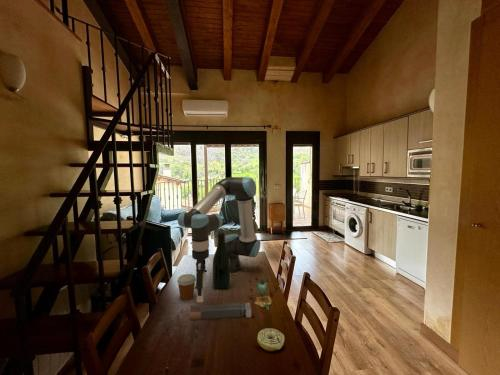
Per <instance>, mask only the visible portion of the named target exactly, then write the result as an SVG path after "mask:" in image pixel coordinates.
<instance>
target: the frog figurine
mask: <svg viewBox="0 0 500 375" xmlns="http://www.w3.org/2000/svg"><path fill="white" fill-rule="evenodd" d="M260 280H261V281H259V280H257V281H256V282H255V284H256V287H255V288H254V290H255V291H257V292H259V294H258V296H255V301H254V304H255V305H257V306H259V307H262V308H263V309H264V308H266V310H270V306H269V305H271V304H272V299H271V297H270V294H269V290H268V287H267V285H268V283H269V281H268V280H265V281H264V277H263V276H261V278H260ZM266 292H267V295H264V293H266ZM261 294H262V296H261Z"/></svg>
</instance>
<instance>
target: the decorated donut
mask: <svg viewBox="0 0 500 375" xmlns="http://www.w3.org/2000/svg"><path fill="white" fill-rule="evenodd" d="M256 341H257V343H258V346H259V347H260V348H262V349H263V350H265V351H267V352H276V351H279V350H280V349H282V348H283V346H284V345H285V335H284V334H283V333H282V331H279V330H278V329H276V328H273V327H269V328H268V327H266V328H263V329H261V330H260V331H259V332H258V333H257V340H256Z"/></svg>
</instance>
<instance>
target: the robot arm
mask: <svg viewBox="0 0 500 375" xmlns="http://www.w3.org/2000/svg"><path fill="white" fill-rule="evenodd" d="M256 184H257V183H256V182H255V180H254V179H253V178H251V177H247V176H240V177H238V176H237V177H235V176H229V177H225V178H223V179H221V180H219V181H218V182H216V183H215V184H214V185H213V186H212V187H211V190H210V191H209V192H208V193H207V194H206V195H205V196H203V197H202V199H201V200H199V201H198V202H197V203H196V204H195V205H194V206H193V207H192V208H191V209H190V210H189V211H187V212H186V211H185V212H180V213H179V214H178V217H177V224H178V226H180V227H181V228H186V229H191V242H190V244H191V249H192V250H191V258H192V259H193V260H196V262H195V267H196V269H195V271H196V274H195V275H196V276H195V278H196V281H195V286H194V290H196V302H197V303H203V302H204V287H206V283H207V282H206V273H208V272H207V271H208V270H207V268H206V259H208V258H209V256H210V239H209V237H210V236H209V235H210V234H209V233H211V232H213V231H216V230H218V229H219V228H221V227H222V225H223V222H224V220H223V217H222V216H221V215H220V213H211V214H208V213H209V212H210V211H211V210H212V209H213V207H215V205H216V204H217V203H218V202H219V201H220V200H221V199H224V198H225V197H226V196H233V197H234V200H235V201H236V202H237V206H238V215H239V216H238V218H239V227H240V228H239V229H240V235H239V234H237V233H232V234H231V233H229V234H225V247H226V250H227V253H228V255H229V259H230V273H237V272H239V271H241V269H242V263H241V259H240V256H243V257H249V258H256V257H257V256H258V255H259V252H260V250H261V240H260V239H258V238H257V237H258V236H257V235H256V234H255V227H254V218H253V216H254V215H253V205H252V201H253V200H254V197H255V196H256V194H257V185H256Z"/></svg>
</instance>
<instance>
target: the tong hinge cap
mask: <svg viewBox="0 0 500 375" xmlns="http://www.w3.org/2000/svg"><path fill="white" fill-rule="evenodd" d="M244 304H245V318H246V319H247V318H252V307H251V302H244Z"/></svg>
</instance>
